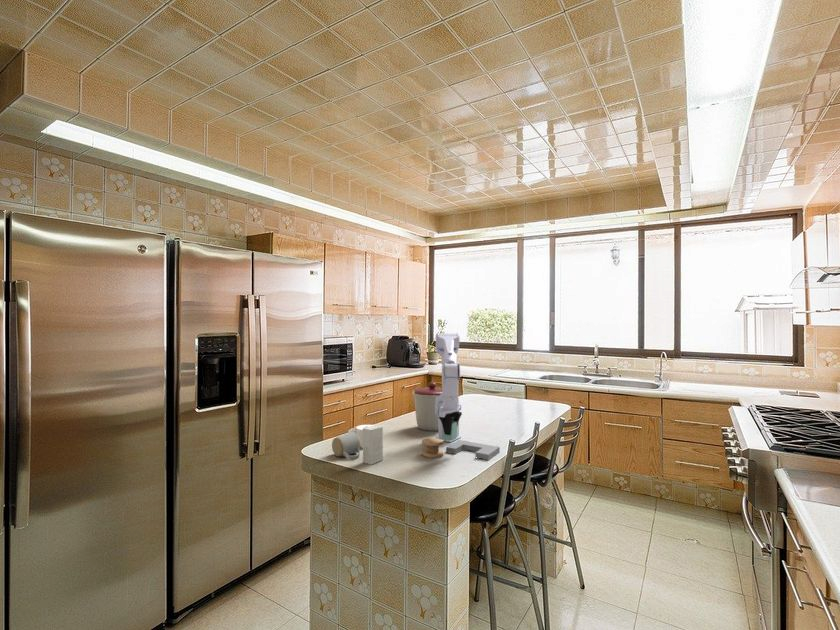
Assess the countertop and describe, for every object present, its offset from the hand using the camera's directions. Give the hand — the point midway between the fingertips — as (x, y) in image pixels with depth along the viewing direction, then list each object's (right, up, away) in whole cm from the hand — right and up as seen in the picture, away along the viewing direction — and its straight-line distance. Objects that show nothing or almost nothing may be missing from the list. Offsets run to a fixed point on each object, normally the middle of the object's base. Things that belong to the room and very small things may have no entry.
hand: (450, 433), depth 159 cm
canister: (-6, -9, +39) cm, 41 cm away
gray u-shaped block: (+9, -8, +4) cm, 13 cm away
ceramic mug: (-37, -8, -1) cm, 38 cm away
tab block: (0, -2, 0) cm, 2 cm away
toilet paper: (-34, -8, +13) cm, 38 cm away
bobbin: (-6, -8, +1) cm, 11 cm away
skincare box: (-28, -8, -7) cm, 30 cm away
